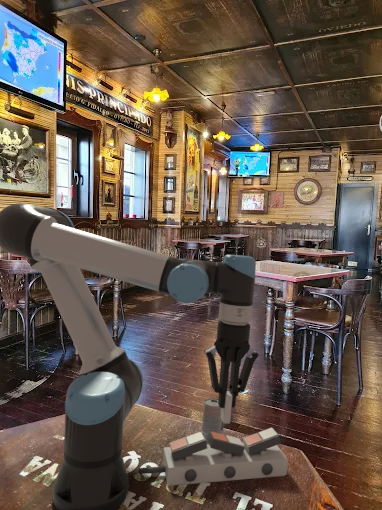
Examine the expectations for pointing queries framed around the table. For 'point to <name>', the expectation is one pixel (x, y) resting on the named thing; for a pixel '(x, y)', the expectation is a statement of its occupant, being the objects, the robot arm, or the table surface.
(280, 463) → the power strip
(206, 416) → the energy drink
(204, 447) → the rocker
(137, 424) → the table surface
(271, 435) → the rocker
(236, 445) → the rocker
